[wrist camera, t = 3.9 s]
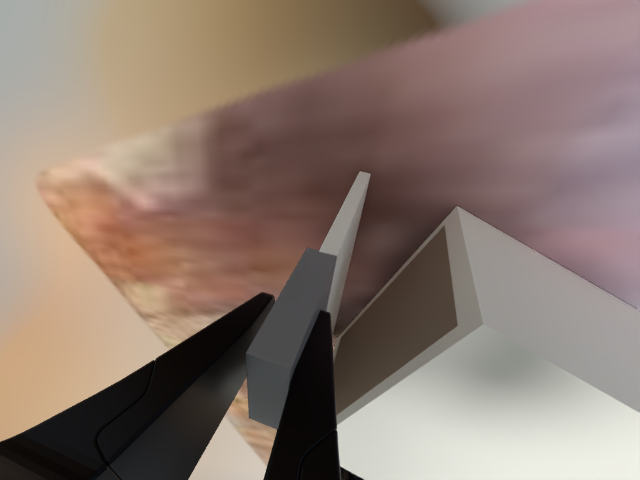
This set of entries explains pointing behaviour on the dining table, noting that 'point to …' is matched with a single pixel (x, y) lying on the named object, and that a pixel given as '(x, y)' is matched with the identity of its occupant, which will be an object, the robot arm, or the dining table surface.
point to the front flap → (301, 311)
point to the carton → (488, 368)
